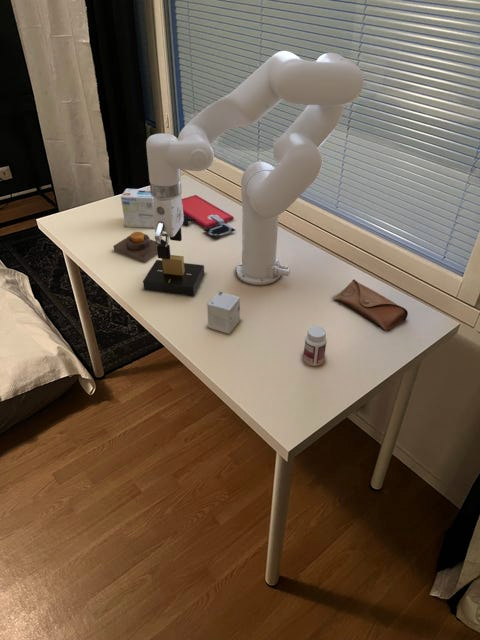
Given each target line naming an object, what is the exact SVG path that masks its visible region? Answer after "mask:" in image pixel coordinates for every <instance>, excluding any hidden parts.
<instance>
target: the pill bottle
mask: <svg viewBox="0 0 480 640" xmlns="http://www.w3.org/2000/svg"><path fill="white" fill-rule="evenodd" d="M327 340H328V339H327V330H326V328H325V327H323V326H320V325H312V326H309V327H308V329H307V334H306V335H305V338H304V346H303V348H304V349H303V356H302V357H303V361H304V362H305V363H306V364H307V365H309V366H313V367H315V366H320V365H322V364H323V363H324V361H325V354H326V348H327V342H328V341H327Z"/></svg>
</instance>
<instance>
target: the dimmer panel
mask: <svg viewBox="0 0 480 640" xmlns="http://www.w3.org/2000/svg"><path fill="white" fill-rule="evenodd" d="M184 268H185V272H184V274H183V276H180V275H172V274H164V273H163V264H162V259H156V260H155V261H154V263H153V265H152V266H151V267H150V269H149V271H148V272H147V273H146V276H145V277H144V278H143V280H142V284H143V290H144V291H150V292H158V293H165V294H173V295H181V296H189V297H195V295H196V293H197V291H198V288H199V286H200V284H201V282H202V280H203V278H204V276H205V265H204V264H198V263H197V264H195V263H188V262H184Z"/></svg>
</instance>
